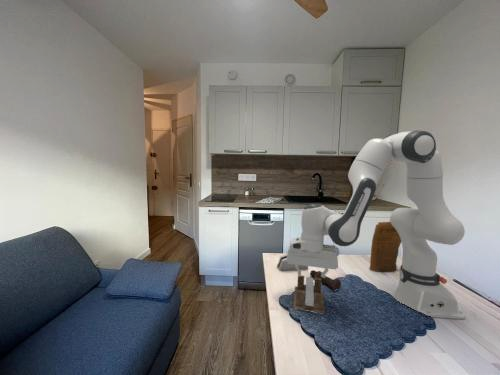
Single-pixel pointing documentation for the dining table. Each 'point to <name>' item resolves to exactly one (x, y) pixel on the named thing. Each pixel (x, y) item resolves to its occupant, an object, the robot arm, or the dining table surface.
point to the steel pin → (309, 292)
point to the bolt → (327, 280)
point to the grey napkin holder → (285, 266)
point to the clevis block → (301, 293)
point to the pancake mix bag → (384, 248)
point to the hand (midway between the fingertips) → (311, 275)
